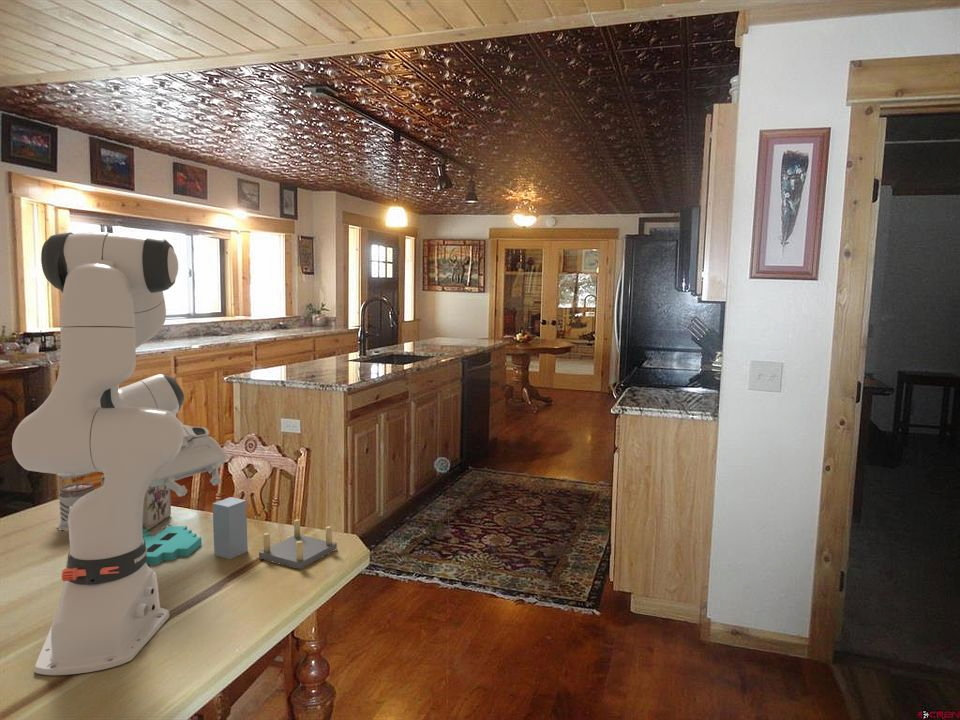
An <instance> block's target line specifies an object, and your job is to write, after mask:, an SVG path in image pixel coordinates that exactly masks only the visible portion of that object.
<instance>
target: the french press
mask: <svg viewBox="0 0 960 720" xmlns="http://www.w3.org/2000/svg"><path fill="white" fill-rule="evenodd" d="M93 473H94V472H84V473H66V474H56V475H57V476H58V477H60V478H61V479H60V489H59V491H60V493H59V494H58V500H59V511H60V512H59V515H60V519H59V520H60V521H59V523H58V524H57V525H58V526H57V525H56V527H58V528H59V529H61V530H69V525H68V514H69V511H70V509H71V507H72V506H73V504H74V503H75V502H76V501H77V500H78V499H79V498H81V497H82V496H84V495H86V494H87V493H89V492H91V491H93V490H95V488H93V486H94V484H93V483H92V482H78V477H85V476H89V475H90V474H93ZM74 478H75V483H71V484H70V480H73V479H74ZM63 479H65V480H66V481H67V484H66V485H64V486H63ZM61 530H60V531H61Z"/></svg>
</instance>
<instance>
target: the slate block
mask: <svg viewBox="0 0 960 720" xmlns="http://www.w3.org/2000/svg"><path fill="white" fill-rule="evenodd" d="M211 506H212V524H213V525H212V527H213V553H214V556H218V557H220V558H221V557H222V558H225V559H229V560H232V559H234V558H235V557H238V556H240V555H242V554H244V552H245V553H247V552H248V551H249V549H248V547H249V546H248V522H247V519H248V518H247V517H248V516H247V515H248V514H247V500H246V499H242V498H236V497H232V496H229V497H227V498H224V499H220V500H218V501H216V502H213V503H212V505H211ZM246 551H247V552H246ZM231 558H232V559H231Z"/></svg>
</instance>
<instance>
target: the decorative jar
mask: <svg viewBox="0 0 960 720" xmlns="http://www.w3.org/2000/svg"><path fill="white" fill-rule="evenodd" d="M104 480H105V476H104V473H103V474H102V476H101V477H100V487H101V486H103V485H104ZM171 505H172V502H171V489H169V488H167V487H166V486H165V484H162V485H159V486H155V487H150V486H149V487H148V489H147V491H146V494H145V497H144V502H143V515H142V527H143V529H146V532H148V531H149V530H151V529H152V528H154V527H155V526H157V525H159V524H160V523H161V522H163V521H164V520H166V519H167V518H169V517H170V516H171V514H172V513H171V511H172V508H171V507H172V506H171Z"/></svg>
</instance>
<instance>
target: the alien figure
mask: <svg viewBox="0 0 960 720" xmlns="http://www.w3.org/2000/svg"><path fill="white" fill-rule="evenodd" d="M142 531H143V539H144V540H145V542H146V547H147V561H146V564H147V565H159V564H160V563H161V562H163V561H174V560H175V559H176V558H178V557H188V556H190V555H191V554H192V553H194V552H195V551H196V550H197V549H198V548H199V547H200V546H201V545H202V537H201V536H197V532H196V533H193V532H192V531H193V530H192V529H188V526H187V525H182V526H181V525H169V526H166V527H165V528H164V529H163V530H161V531H160V532H159V533H157V534H156V535H154V536H153V535H151V532H148V531H146V529H143V527H142Z"/></svg>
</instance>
